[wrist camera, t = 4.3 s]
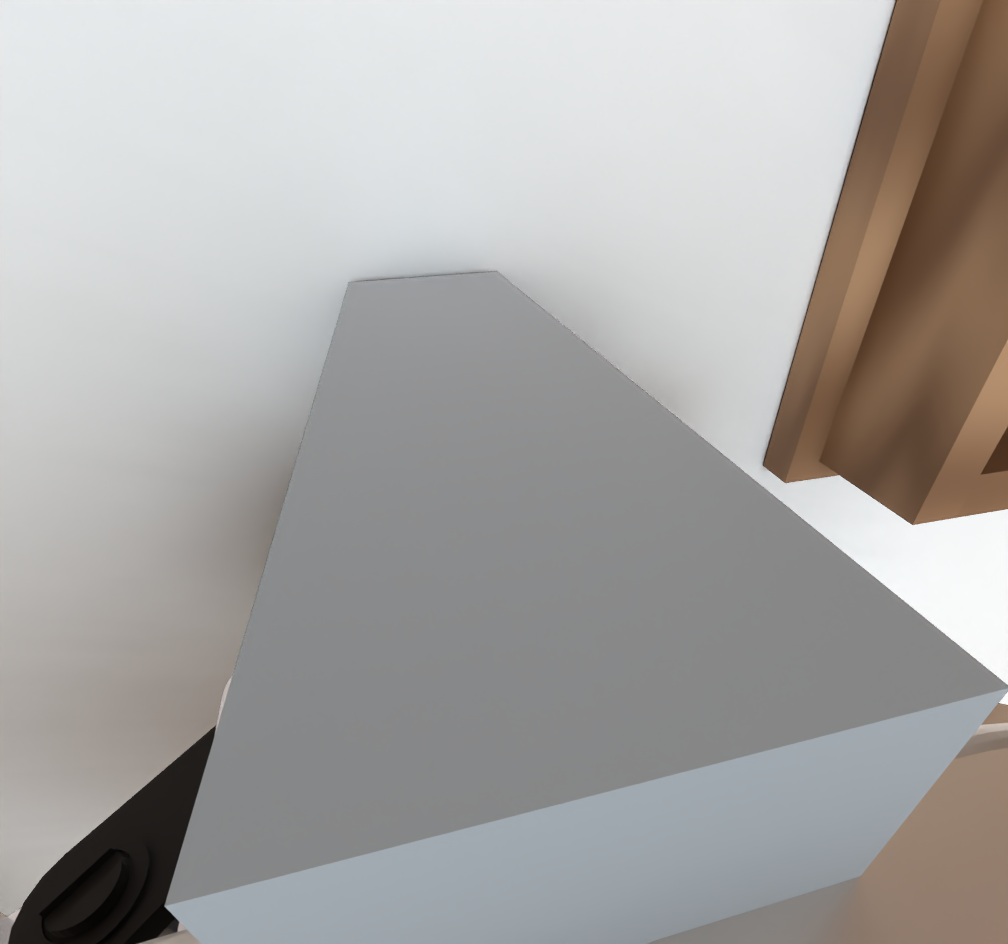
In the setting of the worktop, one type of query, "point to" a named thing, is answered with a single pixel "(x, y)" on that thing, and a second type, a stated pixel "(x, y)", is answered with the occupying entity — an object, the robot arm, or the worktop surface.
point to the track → (915, 282)
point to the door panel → (546, 662)
